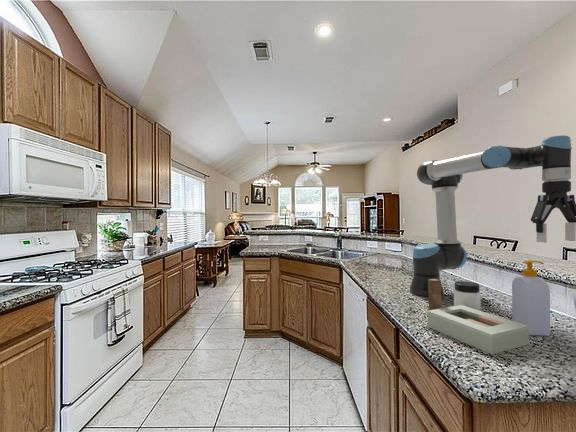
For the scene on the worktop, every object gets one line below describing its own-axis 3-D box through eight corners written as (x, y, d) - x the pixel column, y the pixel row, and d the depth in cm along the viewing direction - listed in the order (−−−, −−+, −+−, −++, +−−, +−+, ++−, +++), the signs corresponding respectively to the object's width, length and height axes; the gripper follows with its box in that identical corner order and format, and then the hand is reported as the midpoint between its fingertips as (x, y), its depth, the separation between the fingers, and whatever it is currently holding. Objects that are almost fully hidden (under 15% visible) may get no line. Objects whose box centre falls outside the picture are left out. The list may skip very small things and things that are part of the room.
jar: (456, 317, 111) (456, 285, 110) (451, 310, 118) (451, 280, 118) (484, 319, 108) (483, 286, 108) (477, 312, 116) (477, 281, 116)
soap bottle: (553, 336, 92) (552, 263, 92) (528, 335, 93) (527, 262, 93) (535, 326, 101) (534, 258, 101) (512, 325, 102) (511, 258, 102)
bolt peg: (425, 316, 113) (424, 279, 112) (434, 314, 114) (434, 278, 114) (435, 320, 108) (435, 281, 108) (445, 318, 110) (444, 280, 110)
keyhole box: (427, 326, 102) (427, 310, 102) (461, 320, 108) (460, 304, 108) (491, 354, 81) (491, 334, 81) (528, 344, 87) (528, 325, 87)
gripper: (540, 179, 97) (540, 243, 98) (594, 180, 104) (594, 241, 104) (517, 181, 105) (518, 241, 105) (569, 182, 111) (569, 239, 111)
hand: (556, 241), depth 104 cm, fingers open, 13 cm apart
